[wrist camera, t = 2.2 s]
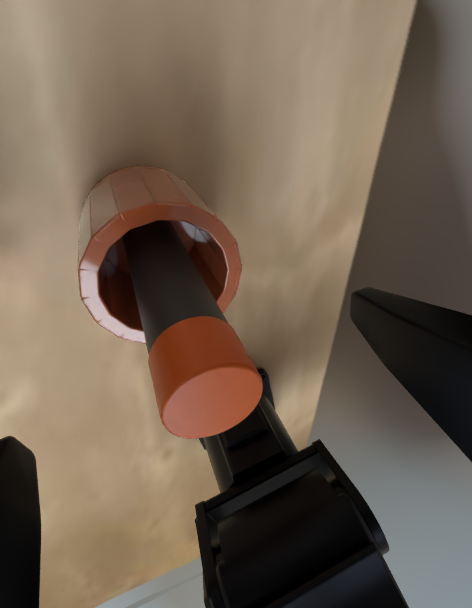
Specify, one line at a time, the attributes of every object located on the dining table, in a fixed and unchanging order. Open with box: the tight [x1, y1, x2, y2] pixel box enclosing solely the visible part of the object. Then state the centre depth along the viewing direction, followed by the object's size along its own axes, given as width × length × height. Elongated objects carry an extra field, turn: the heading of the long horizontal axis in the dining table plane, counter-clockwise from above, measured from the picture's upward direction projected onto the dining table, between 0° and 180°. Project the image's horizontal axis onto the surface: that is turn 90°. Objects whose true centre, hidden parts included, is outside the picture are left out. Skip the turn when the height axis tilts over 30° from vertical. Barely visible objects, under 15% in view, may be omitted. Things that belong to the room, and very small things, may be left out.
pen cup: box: [78, 166, 242, 344], centre depth 13 cm, size 6×6×5 cm
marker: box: [122, 220, 263, 438], centre depth 11 cm, size 2×2×10 cm
